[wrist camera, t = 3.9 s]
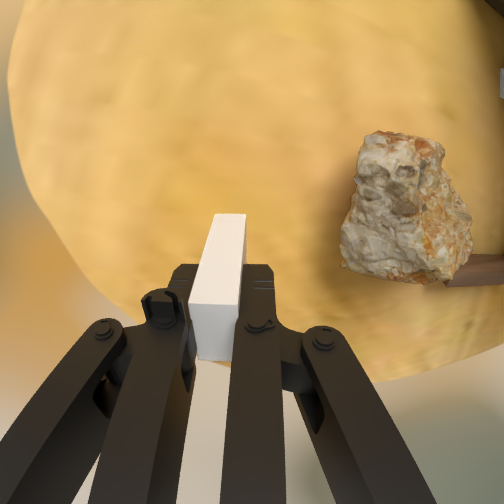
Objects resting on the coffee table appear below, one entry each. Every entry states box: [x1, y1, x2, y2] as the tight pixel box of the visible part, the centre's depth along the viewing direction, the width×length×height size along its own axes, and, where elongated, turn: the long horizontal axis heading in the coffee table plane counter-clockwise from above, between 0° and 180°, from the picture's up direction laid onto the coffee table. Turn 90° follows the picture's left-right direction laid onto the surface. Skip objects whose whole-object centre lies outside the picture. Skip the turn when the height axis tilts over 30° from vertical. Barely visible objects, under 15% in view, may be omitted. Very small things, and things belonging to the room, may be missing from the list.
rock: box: [339, 131, 473, 285], centre depth 18 cm, size 12×10×10 cm
